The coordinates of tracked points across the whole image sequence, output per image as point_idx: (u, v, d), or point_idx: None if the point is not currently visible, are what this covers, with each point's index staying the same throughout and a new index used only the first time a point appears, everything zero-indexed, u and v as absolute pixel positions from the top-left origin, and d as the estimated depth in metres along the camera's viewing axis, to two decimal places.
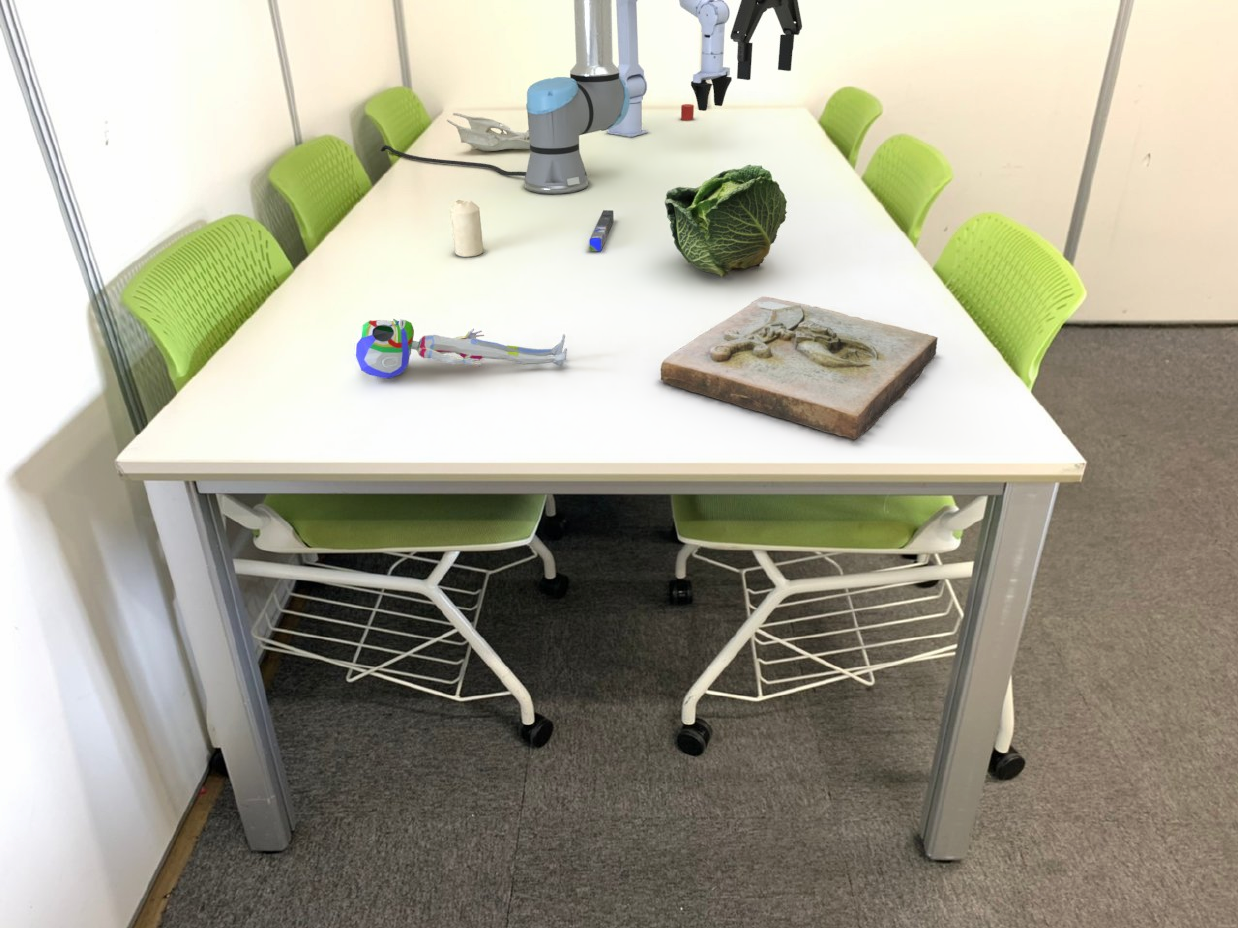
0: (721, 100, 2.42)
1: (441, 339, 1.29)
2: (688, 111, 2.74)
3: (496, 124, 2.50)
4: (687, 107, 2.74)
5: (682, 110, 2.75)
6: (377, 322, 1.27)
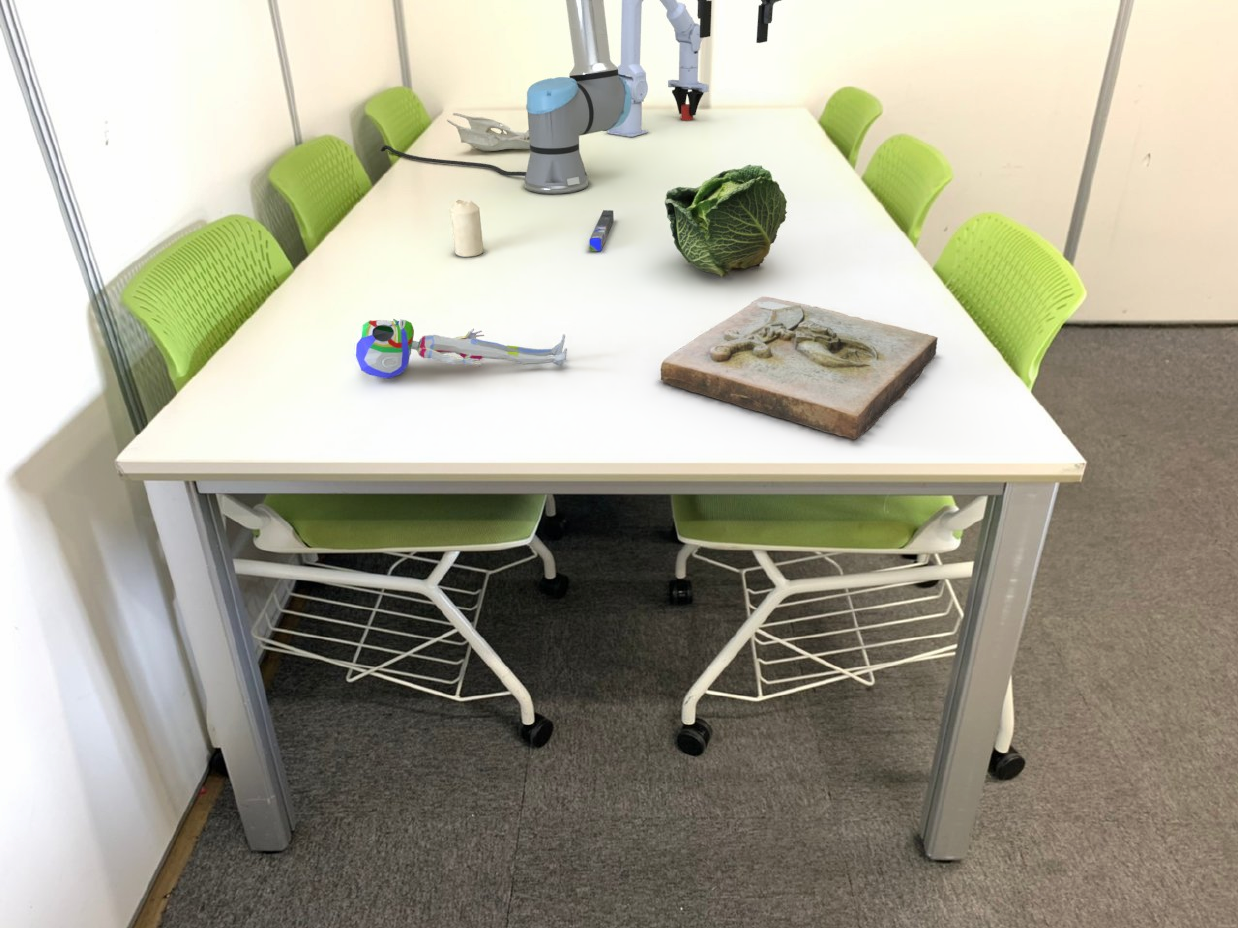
0: None
1: (441, 339, 1.29)
2: (688, 111, 2.74)
3: (496, 124, 2.50)
4: (687, 107, 2.74)
5: (682, 110, 2.75)
6: (377, 322, 1.27)
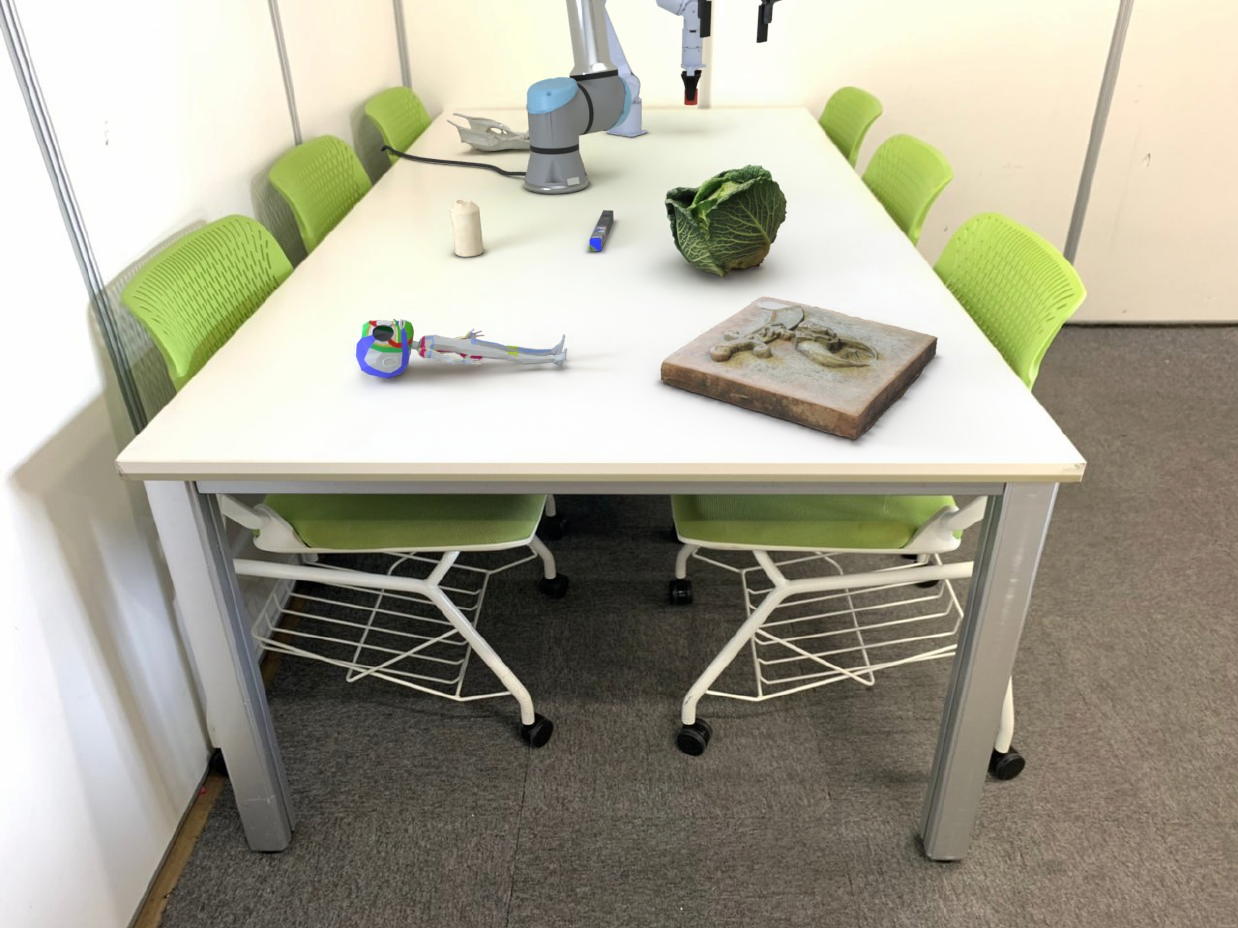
0: None
1: (441, 339, 1.29)
2: None
3: (496, 124, 2.50)
4: None
5: None
6: (377, 322, 1.27)
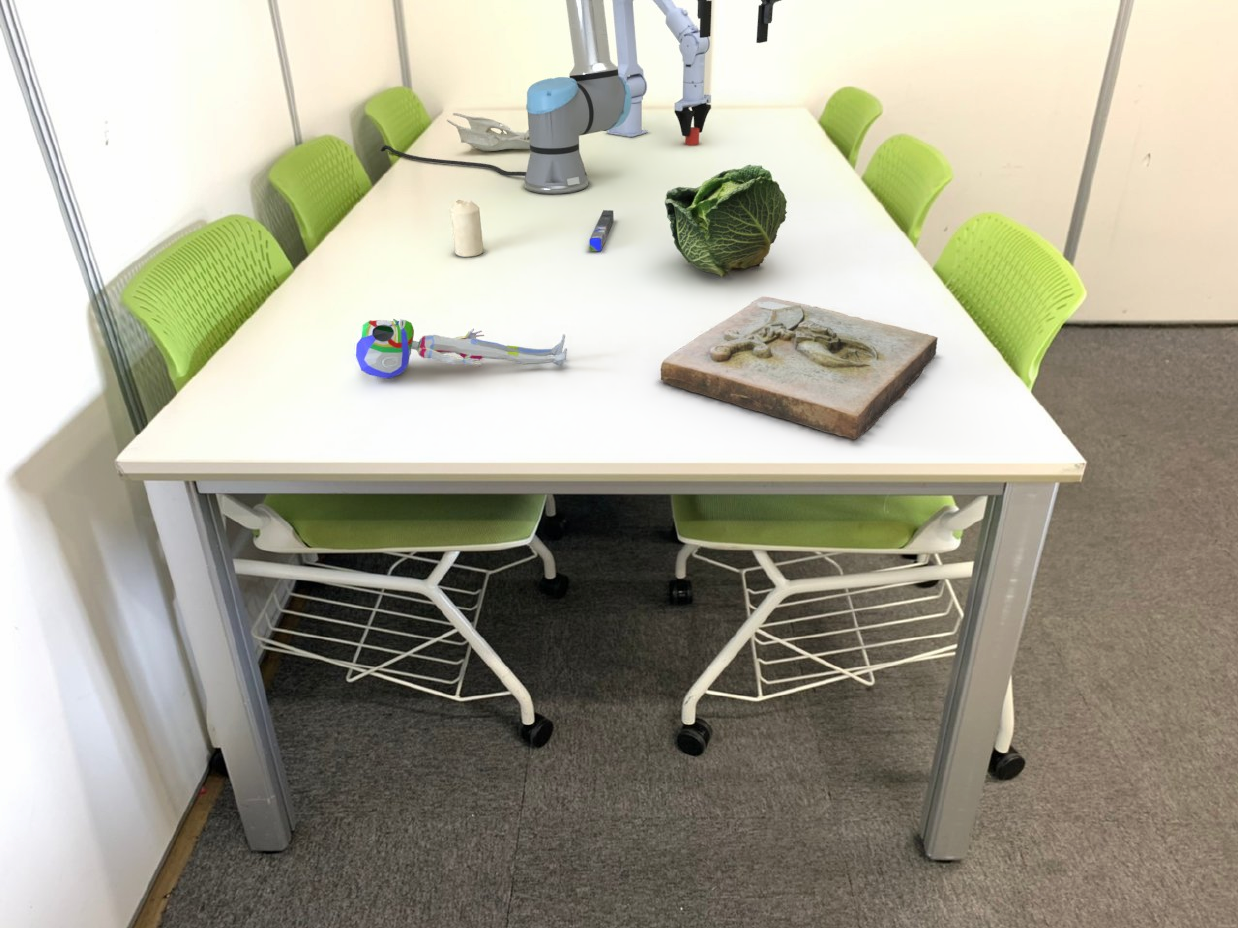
0: (701, 127, 2.49)
1: (441, 339, 1.29)
2: None
3: (496, 124, 2.50)
4: None
5: None
6: (377, 322, 1.27)
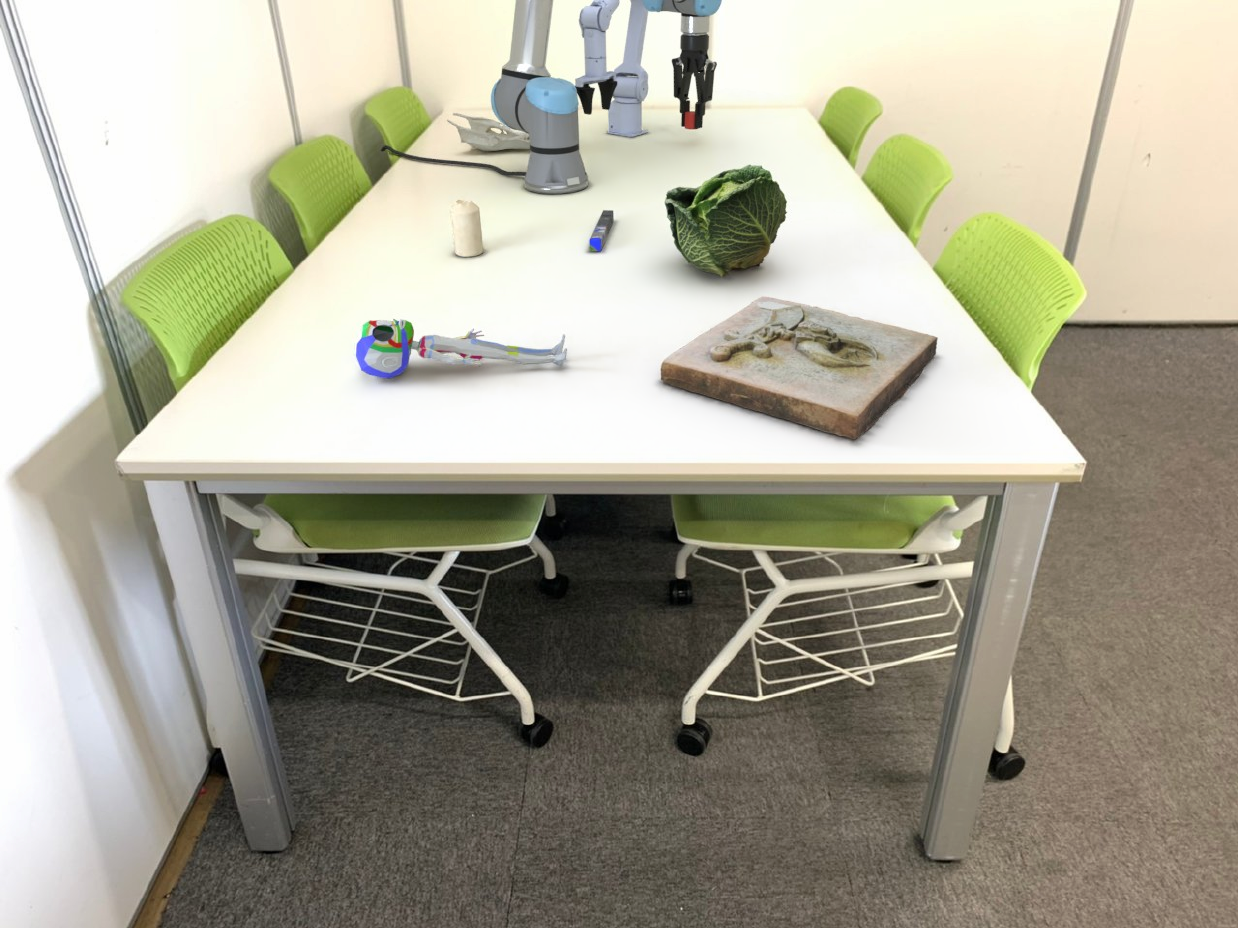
0: (608, 104, 2.44)
1: (441, 339, 1.29)
2: (685, 118, 2.46)
3: (496, 124, 2.50)
4: (685, 113, 2.45)
5: None
6: (377, 322, 1.27)
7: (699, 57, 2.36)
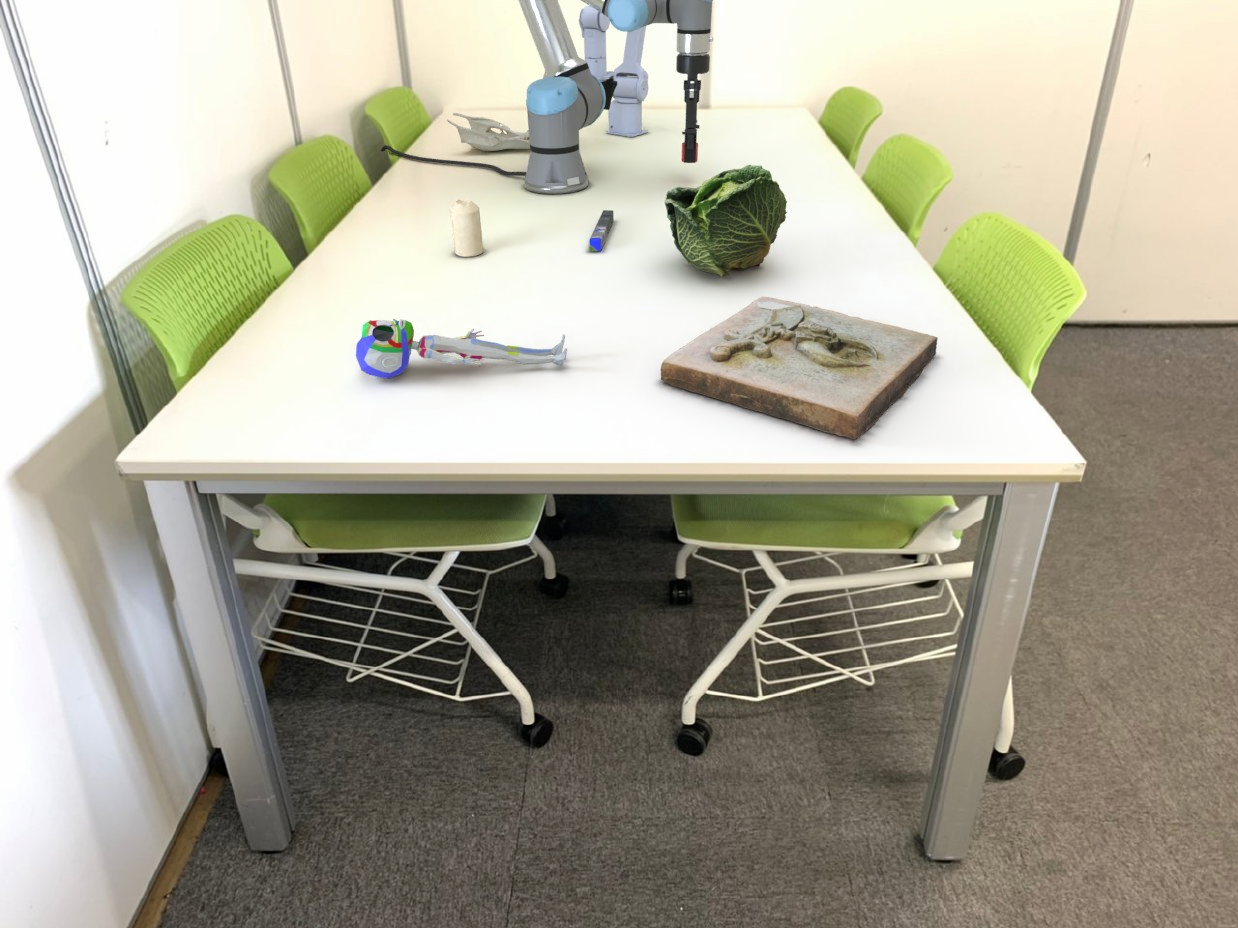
0: (608, 104, 2.44)
1: (441, 339, 1.29)
2: None
3: (496, 124, 2.50)
4: None
5: None
6: (377, 322, 1.27)
7: None
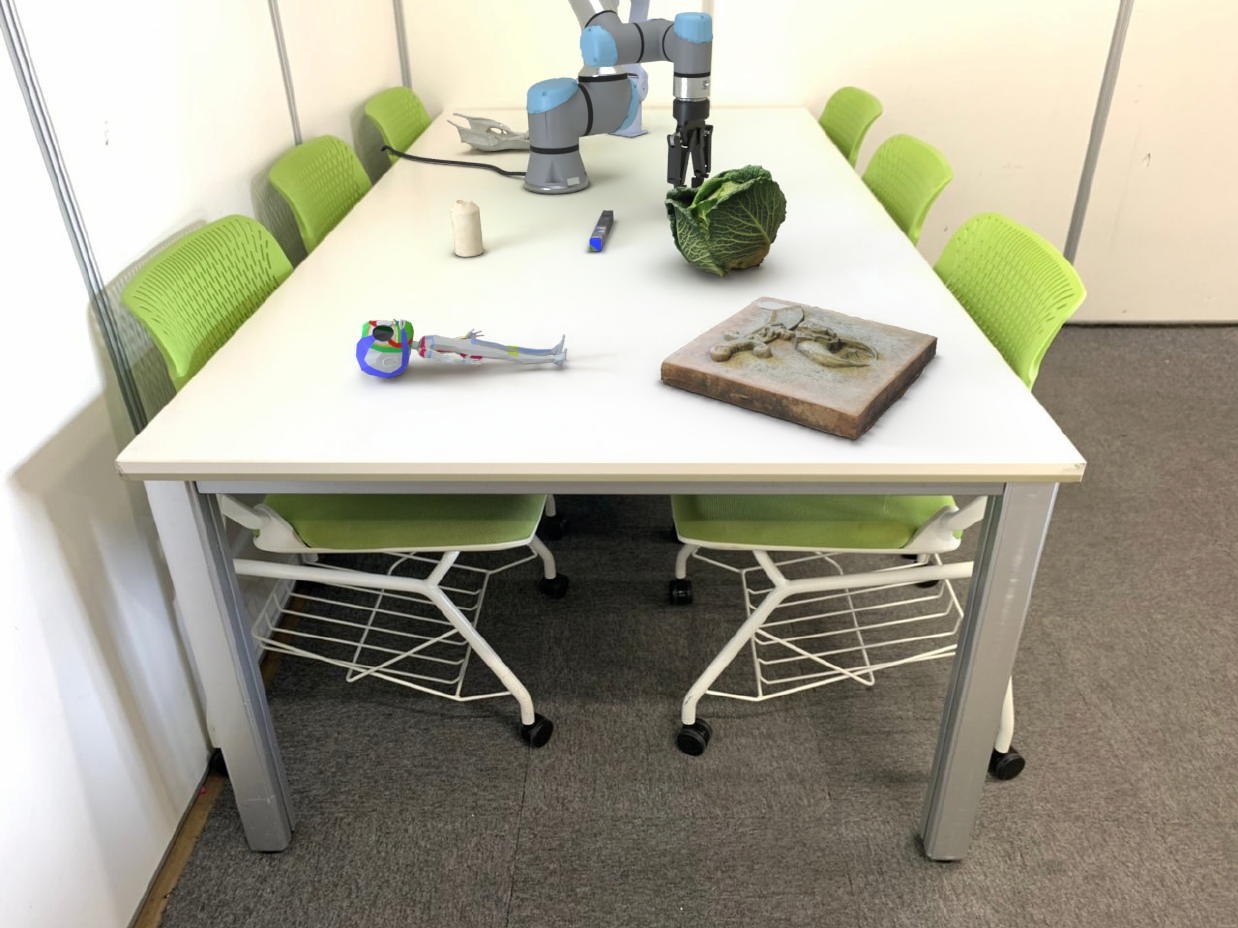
0: None
1: (441, 339, 1.29)
2: None
3: (496, 124, 2.50)
4: None
5: None
6: (377, 322, 1.27)
7: None
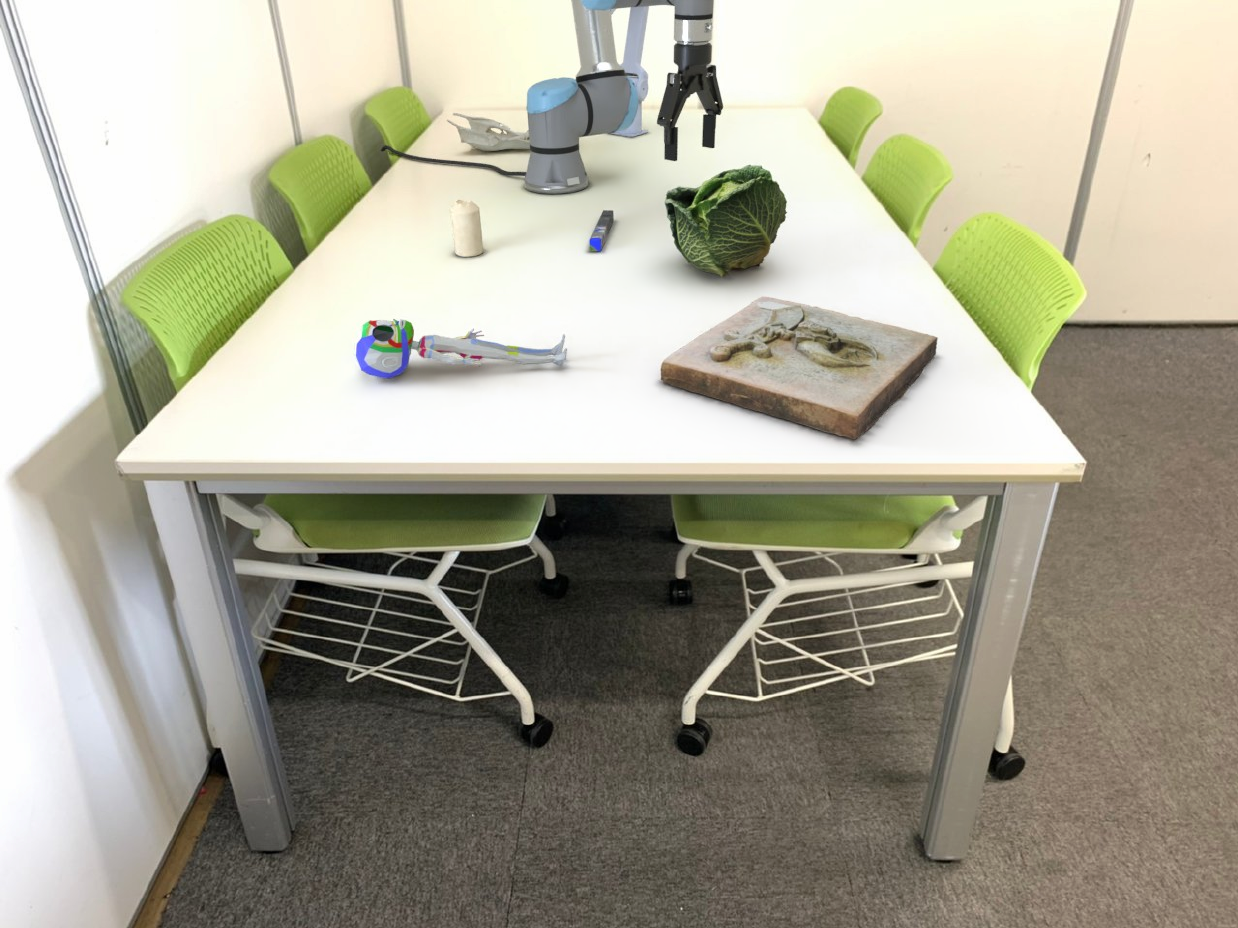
0: None
1: (441, 339, 1.29)
2: None
3: (496, 124, 2.50)
4: None
5: None
6: (377, 322, 1.27)
7: None
